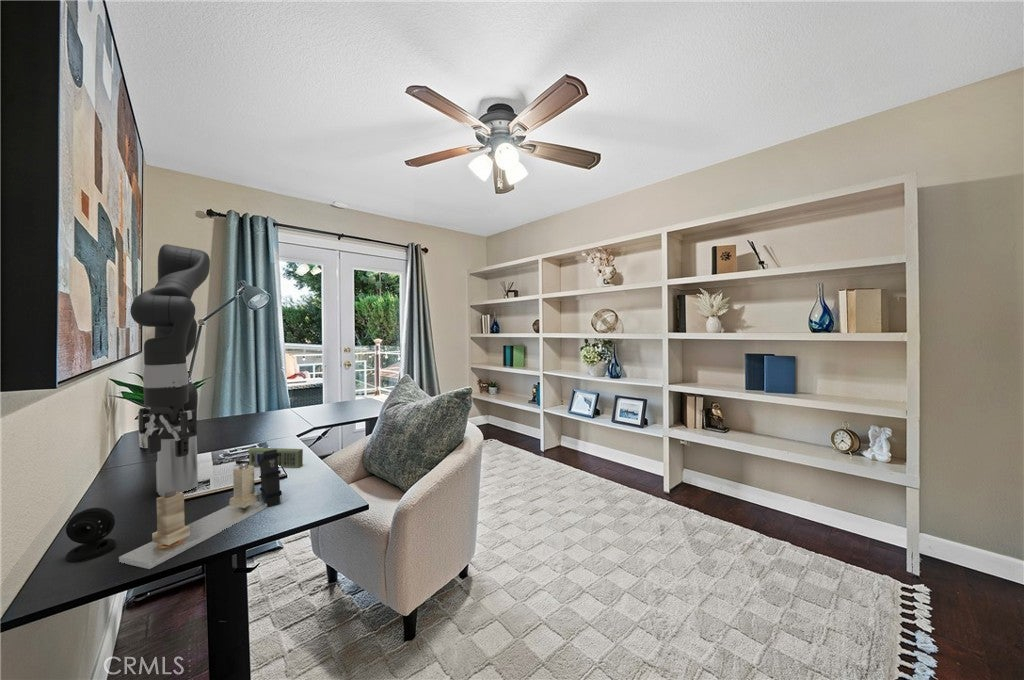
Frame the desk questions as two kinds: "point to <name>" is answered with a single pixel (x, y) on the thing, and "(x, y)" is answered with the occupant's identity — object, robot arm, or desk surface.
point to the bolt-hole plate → (204, 523)
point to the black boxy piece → (270, 477)
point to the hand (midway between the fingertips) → (168, 454)
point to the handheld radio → (285, 458)
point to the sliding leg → (170, 518)
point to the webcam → (90, 533)
